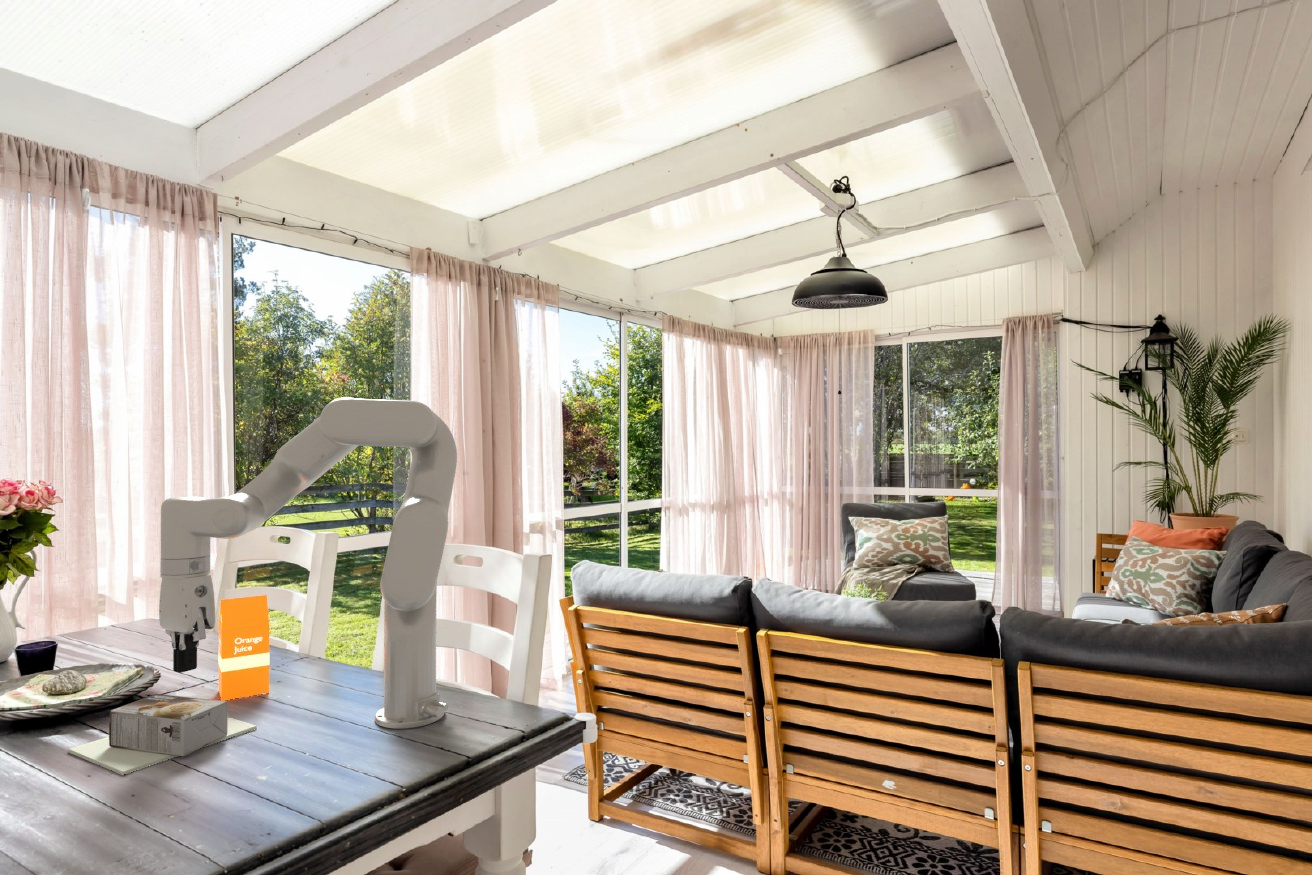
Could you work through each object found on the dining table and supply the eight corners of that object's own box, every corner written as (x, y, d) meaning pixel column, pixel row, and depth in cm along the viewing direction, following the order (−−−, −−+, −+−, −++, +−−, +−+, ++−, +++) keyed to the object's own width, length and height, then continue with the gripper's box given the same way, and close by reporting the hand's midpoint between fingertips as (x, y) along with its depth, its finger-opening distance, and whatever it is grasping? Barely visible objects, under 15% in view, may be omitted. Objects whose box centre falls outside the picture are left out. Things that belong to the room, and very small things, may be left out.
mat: (256, 729, 137) (256, 725, 137) (122, 775, 118) (122, 771, 118) (201, 711, 146) (201, 708, 146) (68, 752, 127) (68, 748, 127)
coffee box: (228, 737, 132) (157, 727, 136) (228, 700, 132) (157, 692, 136) (182, 757, 123) (108, 747, 128) (182, 718, 123) (108, 709, 128)
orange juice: (269, 693, 157) (269, 598, 157) (221, 701, 152) (221, 603, 152) (264, 683, 163) (264, 591, 164) (218, 691, 158) (218, 596, 159)
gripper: (231, 567, 132) (230, 671, 132) (184, 560, 140) (183, 659, 140) (187, 573, 126) (186, 682, 126) (140, 566, 133) (139, 669, 133)
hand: (185, 669), depth 133 cm, fingers closed
